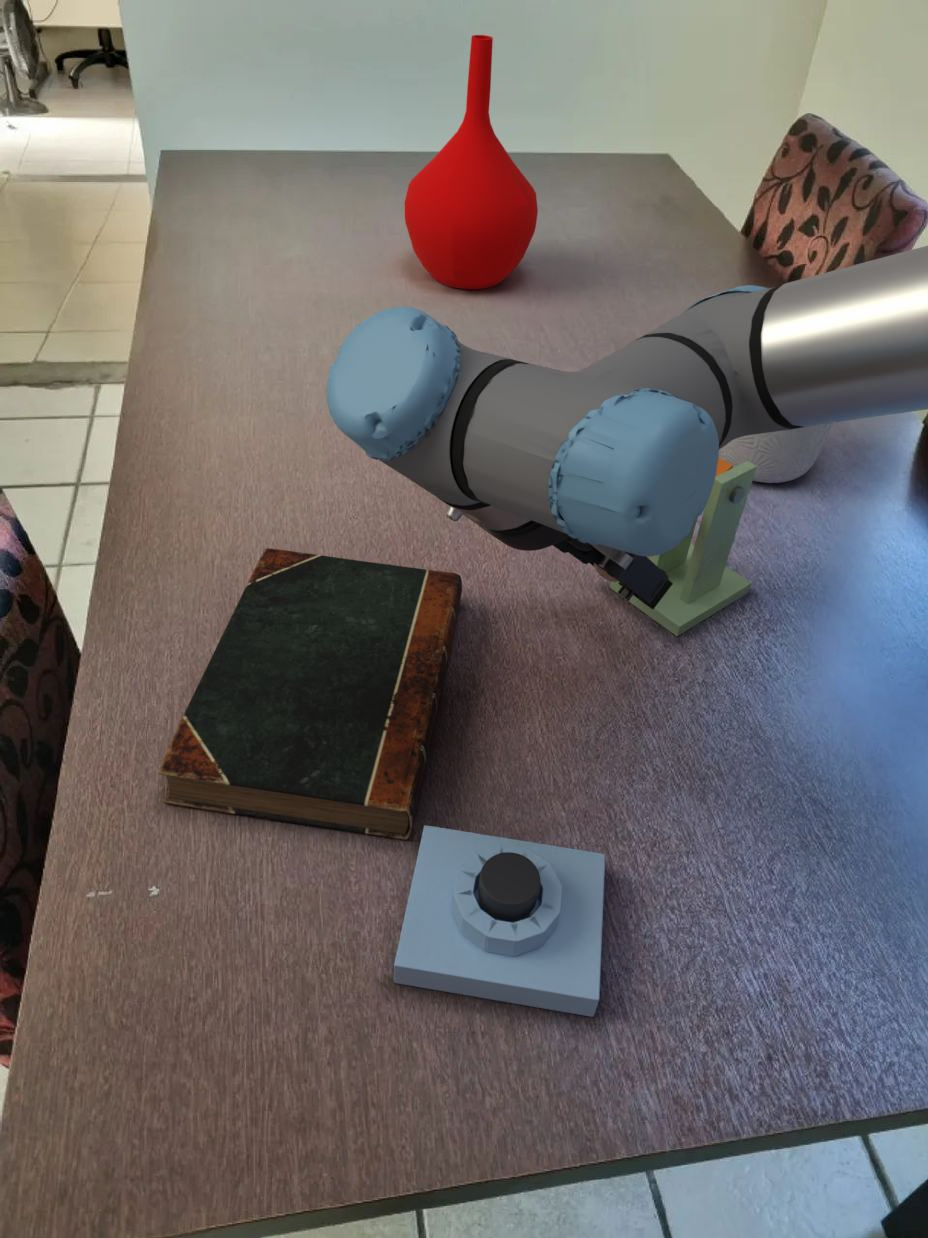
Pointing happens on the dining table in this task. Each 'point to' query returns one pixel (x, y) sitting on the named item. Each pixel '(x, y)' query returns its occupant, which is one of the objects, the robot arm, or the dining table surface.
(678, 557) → the switch bracket
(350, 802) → the book
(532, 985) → the button housing
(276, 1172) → the dining table surface
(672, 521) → the robot arm
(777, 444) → the planter
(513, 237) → the vase
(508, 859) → the button
